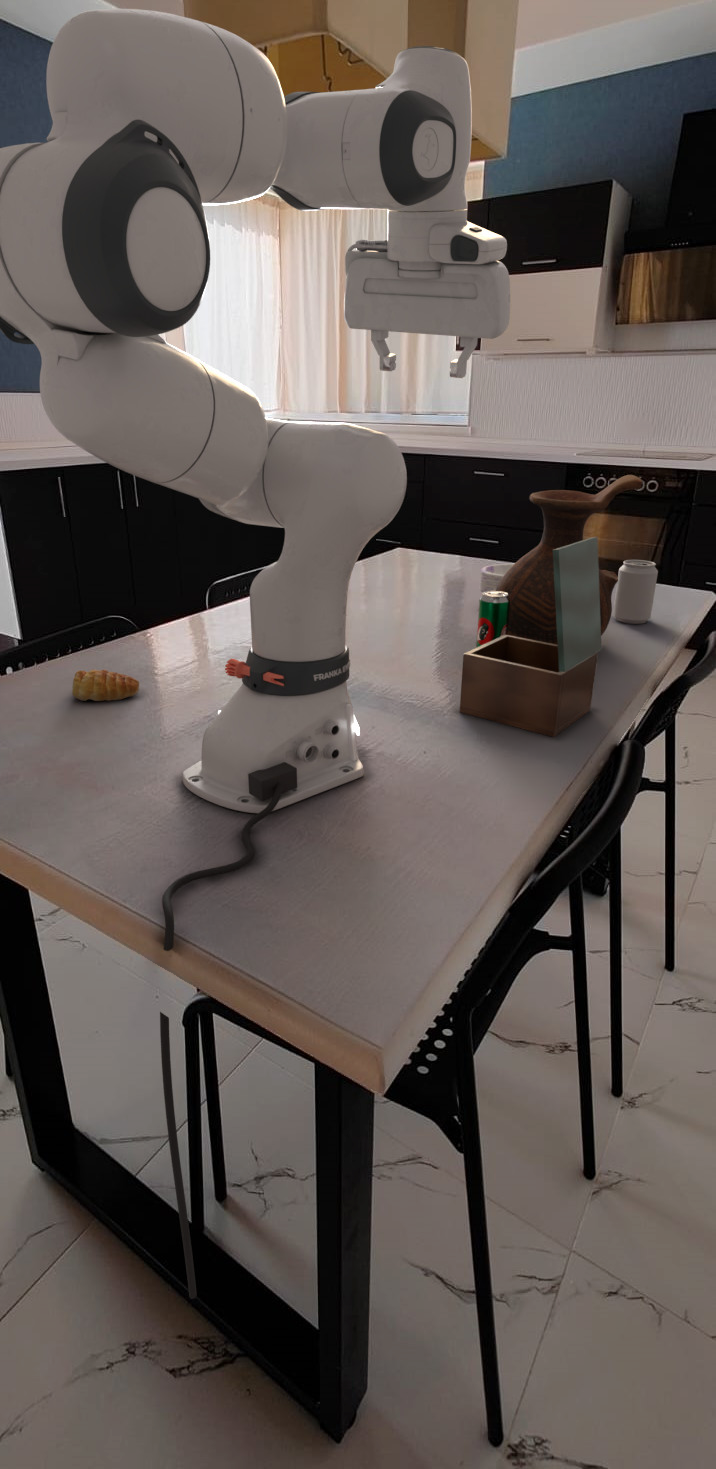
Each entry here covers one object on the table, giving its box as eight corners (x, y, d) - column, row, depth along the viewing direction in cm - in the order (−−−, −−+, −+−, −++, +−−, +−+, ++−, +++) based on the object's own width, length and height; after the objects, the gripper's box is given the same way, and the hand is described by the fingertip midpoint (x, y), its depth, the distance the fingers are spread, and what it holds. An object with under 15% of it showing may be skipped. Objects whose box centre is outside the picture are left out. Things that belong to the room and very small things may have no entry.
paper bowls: (470, 597, 177) (473, 562, 173) (535, 596, 178) (538, 561, 175) (488, 614, 163) (491, 576, 160) (557, 612, 164) (562, 575, 161)
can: (653, 618, 160) (663, 560, 156) (644, 626, 155) (654, 566, 150) (617, 613, 164) (625, 556, 159) (607, 621, 158) (615, 562, 154)
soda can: (504, 668, 130) (510, 597, 125) (474, 666, 130) (479, 596, 126) (505, 659, 134) (511, 591, 129) (476, 657, 135) (480, 589, 130)
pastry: (143, 686, 119) (140, 663, 118) (135, 702, 113) (132, 678, 112) (81, 688, 119) (78, 664, 117) (70, 704, 113) (66, 679, 111)
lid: (552, 549, 95) (558, 549, 94) (591, 537, 104) (597, 536, 104) (558, 671, 99) (564, 671, 99) (596, 649, 109) (601, 649, 108)
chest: (459, 712, 111) (463, 653, 107) (500, 688, 120) (505, 634, 117) (553, 737, 103) (561, 675, 99) (590, 710, 112) (598, 652, 109)
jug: (562, 669, 129) (585, 482, 117) (465, 641, 144) (477, 472, 132) (632, 646, 142) (658, 475, 130) (536, 622, 157) (552, 467, 145)
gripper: (332, 241, 88) (336, 371, 97) (502, 245, 81) (490, 386, 89) (357, 237, 93) (359, 361, 101) (521, 240, 85) (508, 375, 93)
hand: (422, 373), depth 95 cm, fingers open, 8 cm apart
